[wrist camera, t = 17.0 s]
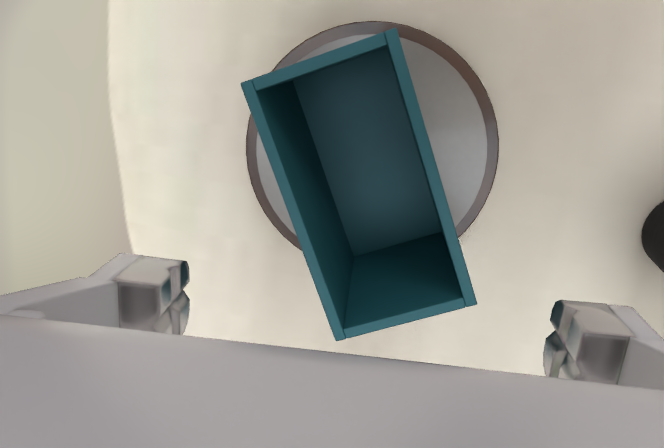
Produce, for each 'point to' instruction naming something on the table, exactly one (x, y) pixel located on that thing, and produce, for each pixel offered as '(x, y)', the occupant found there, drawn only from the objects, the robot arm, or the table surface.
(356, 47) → the bin
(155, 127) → the table surface
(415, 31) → the disc
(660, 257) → the drinking cup
